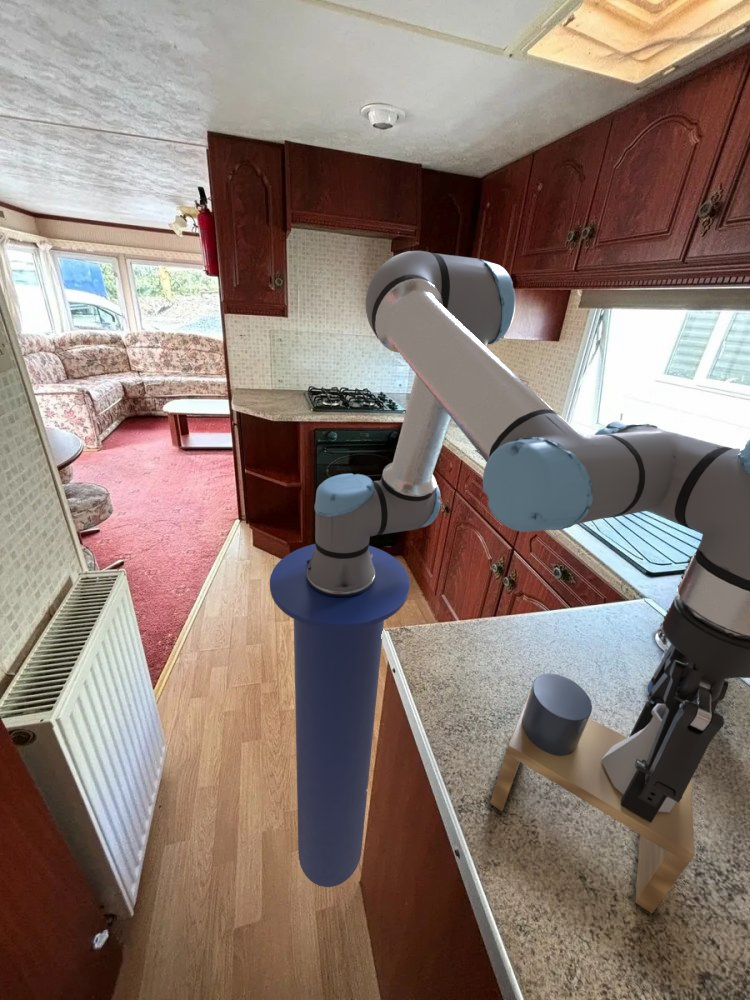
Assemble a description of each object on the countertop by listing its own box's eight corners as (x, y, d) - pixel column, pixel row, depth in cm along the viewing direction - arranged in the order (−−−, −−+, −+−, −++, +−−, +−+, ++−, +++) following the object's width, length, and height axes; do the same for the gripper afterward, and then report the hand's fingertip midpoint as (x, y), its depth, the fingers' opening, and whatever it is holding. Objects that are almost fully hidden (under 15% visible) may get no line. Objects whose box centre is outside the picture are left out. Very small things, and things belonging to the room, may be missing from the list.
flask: (634, 740, 49) (665, 680, 45) (693, 803, 43) (735, 741, 38) (587, 755, 47) (615, 694, 42) (642, 825, 40) (680, 761, 36)
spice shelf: (490, 803, 52) (508, 745, 47) (513, 743, 60) (531, 688, 55) (652, 914, 43) (694, 855, 38) (655, 827, 51) (691, 769, 46)
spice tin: (515, 734, 48) (526, 699, 46) (529, 698, 53) (540, 664, 51) (572, 767, 45) (587, 731, 43) (581, 725, 50) (596, 691, 48)
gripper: (819, 723, 25) (680, 902, 35) (763, 576, 41) (677, 727, 51) (677, 665, 29) (586, 841, 39) (675, 550, 45) (611, 696, 54)
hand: (638, 776), depth 45 cm, fingers closed on flask, 8 cm apart
